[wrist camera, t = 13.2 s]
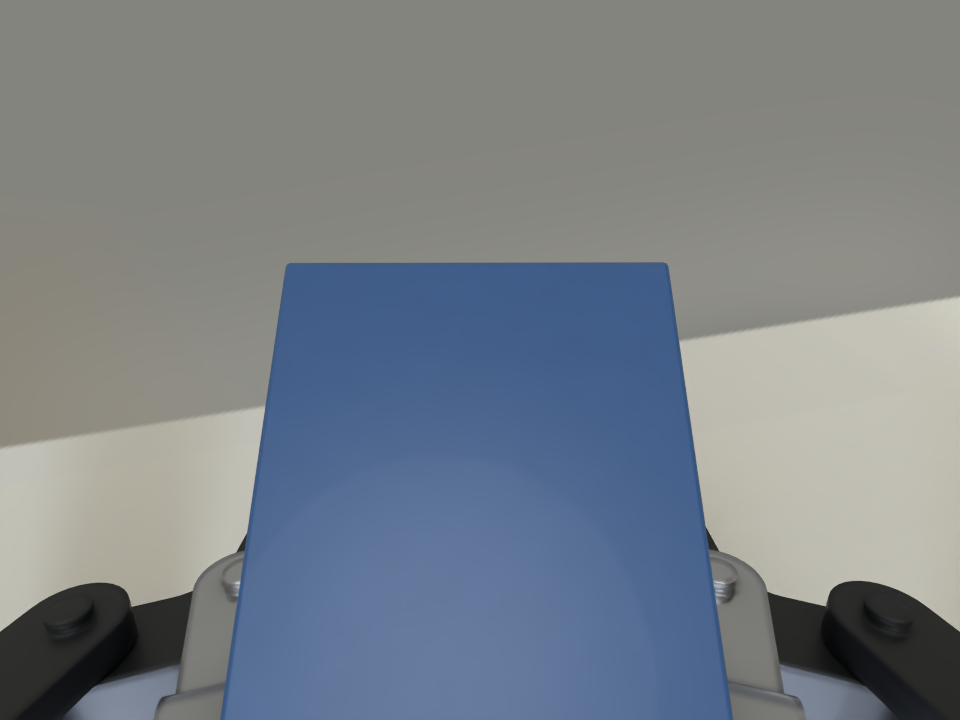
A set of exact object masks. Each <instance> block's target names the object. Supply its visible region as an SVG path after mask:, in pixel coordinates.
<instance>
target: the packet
mask: <svg viewBox="0 0 960 720" xmlns="http://www.w3.org/2000/svg"><path fill="white" fill-rule="evenodd" d="M220 720H733V715H732V708H731V701H730V694H729V687H728V680H727V673H726V666H725V659H724V652H723V645H722V638H721V631H720V624H719V617H718V611H717V604H716V597H715V590H714V583H713V576H712V569H711V562H710V555H709V548H708V541H707V534H706V527H705V520H704V513H703V506H702V499H701V492H700V485H699V478H698V471H697V464H696V457H695V450H694V443H693V436H692V429H691V422H690V415H689V408H688V401H687V394H686V387H685V380H684V373H683V366H682V359H681V352H680V345H679V338H678V331H677V324H676V317H675V310H674V303H673V296H672V289H671V282H670V275H669V268H668V265H667V264H666V263H290V264H287V266H286V269H285V276H284V283H283V290H282V297H281V304H280V310H279V317H278V324H277V331H276V338H275V345H274V352H273V359H272V366H271V373H270V379H269V386H268V393H267V400H266V407H265V414H264V421H263V428H262V435H261V441H260V448H259V455H258V462H257V469H256V476H255V483H254V490H253V497H252V504H251V510H250V517H249V524H248V531H247V538H246V545H245V552H244V559H243V566H242V572H241V579H240V586H239V593H238V600H237V607H236V614H235V621H234V628H233V635H232V641H231V648H230V655H229V662H228V669H227V676H226V683H225V690H224V697H223V704H222V710H221V717H220Z"/></svg>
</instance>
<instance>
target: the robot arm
mask: <svg viewBox="0 0 960 720" xmlns="http://www.w3.org/2000/svg"><path fill="white" fill-rule="evenodd" d="M705 527H706V526H705ZM706 534H707V541H708V548H709V555H710V562H711V569H712V576H713V583H714V590H715V597H716V604H717V611H718V617H719V624H720V631H721V638H722V645H723V652H724V659H725V666H726V673H727V680H728V687H729V694H730V701H731V708H732V715H733V720H960V632H959V631H958V630H957V629H955V628H954V627H953V626H951V625H950V624H949V623H947V622H946V621H945V620H944V619H942V618H941V617H940V616H938V615H937V614H936V613H934V612H933V611H932V610H930V609H929V608H928V607H926V606H925V605H924V604H922V603H921V602H919V601H918V600H916V599H914V598H913V597H911V596H909V595H907V594H905V593H903V592H901V591H899V590H896V589H894V588H891V587H888V586H885V585H881V584H878V583H873V582H866V581H850V582H844V583H841V584H839V585H837V586H835V587H834V588H833V589H832V590H831V591H830V594H829V597H828V601H827V604H826V606H821V605H817V604H812V603H808V602H803V601H799V600H795V599H790V598H786V597H782V596H778V595H774V594H772V593H769V592H767V589H766V586H765V583H764V581H763V580H762V578H761V577H760V575H759V574H758V573H757V572H756V571H755V570H754V569H753V568H752V567H750V566H749V565H748V564H746V563H745V562H743V561H741V560H740V559H738V558H736V557H734V556H731V555H729V554H726V553H723V552H719V550H718V548H717V546H716V545H715V543H714V541H713V539H712V537H711V536H710V534H709V532H708V530H707V528H706ZM246 538H247V534H246V536H245V538H244V540H243V541H242V543H241V545H240V547H239V549H238V550H237V552H236V553H234V554H231V555H229V556H226V557H224V558H222V559H220V560H219V561H217V562H215V563H214V564H212V565H211V566H210V567H208V568H207V569H206V570H205V571H204V572H203V573H202V574H201V575H200V577H199V578H198V580H197V581H196V583H195V586H194V589H193V591H191V592H189V593H186V594H183V595H180V596H177V597H173V598H169V599H165V600H160V601H156V602H151V603H147V604H143V605H138V606H134V607H131V603H130V599H129V596H128V594H127V592H126V591H125V590H124V589H123V588H121V587H120V586H117V585H114V584H110V583H90V584H84V585H79V586H76V587H72V588H69V589H66V590H64V591H61V592H58V593H56V594H54V595H52V596H50V597H48V598H46V599H45V600H43V601H41V602H40V603H38V604H37V605H35V606H34V607H32V608H31V609H30V610H28V611H27V612H26V613H24V614H23V615H22V616H20V617H19V618H18V619H16V620H15V621H14V622H13V623H11V624H10V625H9V626H7V627H6V628H5V629H3V630H2V631H1V632H0V720H220V717H221V710H222V704H223V697H224V690H225V683H226V676H227V669H228V662H229V655H230V648H231V641H232V635H233V628H234V621H235V614H236V607H237V600H238V593H239V586H240V579H241V572H242V566H243V559H244V552H245V545H246Z"/></svg>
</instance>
